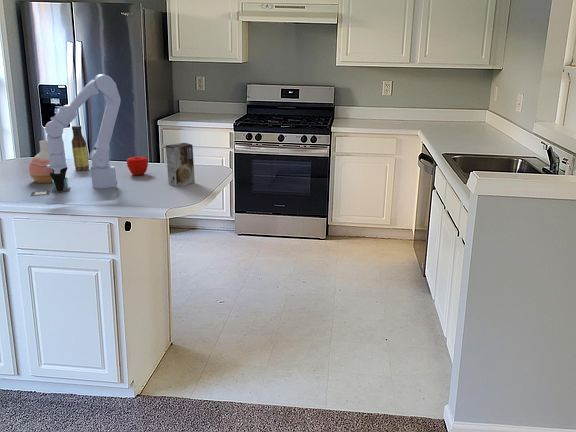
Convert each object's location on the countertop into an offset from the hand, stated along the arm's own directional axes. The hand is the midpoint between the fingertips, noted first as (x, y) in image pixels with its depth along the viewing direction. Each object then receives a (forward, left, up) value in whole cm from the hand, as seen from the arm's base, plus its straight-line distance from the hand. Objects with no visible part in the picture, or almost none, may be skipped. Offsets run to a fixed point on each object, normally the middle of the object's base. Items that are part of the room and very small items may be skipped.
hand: (60, 188), depth 216 cm
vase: (+6, -18, -2) cm, 19 cm away
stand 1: (+7, +3, -2) cm, 8 cm away
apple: (-30, -24, -2) cm, 38 cm away
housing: (0, 0, -1) cm, 1 cm away
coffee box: (-46, -2, -2) cm, 46 cm away
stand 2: (0, 0, -2) cm, 2 cm away
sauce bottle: (-6, -43, -2) cm, 43 cm away
